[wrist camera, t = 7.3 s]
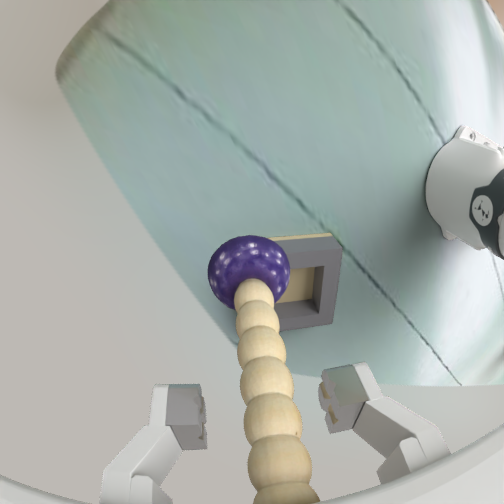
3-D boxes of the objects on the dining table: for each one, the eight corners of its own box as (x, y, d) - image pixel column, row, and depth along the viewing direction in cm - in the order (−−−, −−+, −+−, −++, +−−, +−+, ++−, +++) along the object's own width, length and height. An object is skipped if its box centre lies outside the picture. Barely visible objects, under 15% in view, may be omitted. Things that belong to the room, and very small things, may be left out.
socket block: (330, 232, 40) (342, 248, 36) (322, 304, 45) (332, 323, 42) (239, 240, 39) (243, 257, 35) (244, 314, 44) (247, 334, 40)
